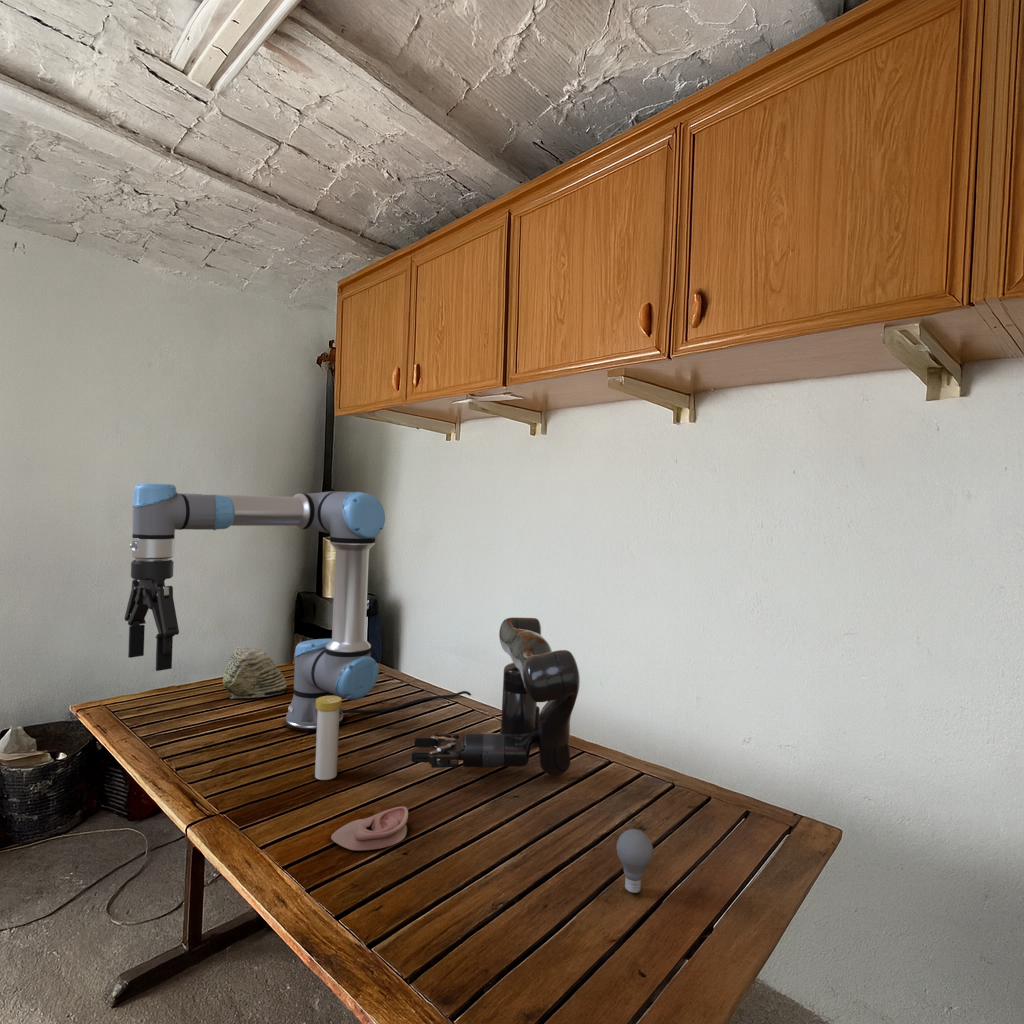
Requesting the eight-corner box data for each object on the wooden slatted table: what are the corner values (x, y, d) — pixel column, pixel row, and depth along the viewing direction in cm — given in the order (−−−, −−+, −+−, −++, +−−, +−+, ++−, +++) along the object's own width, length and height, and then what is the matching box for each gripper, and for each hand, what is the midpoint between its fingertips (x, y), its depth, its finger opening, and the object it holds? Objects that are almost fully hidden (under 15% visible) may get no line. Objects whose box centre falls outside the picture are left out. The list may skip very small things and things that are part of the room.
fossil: (218, 695, 195) (220, 647, 195) (278, 685, 208) (279, 640, 207) (228, 703, 189) (230, 653, 188) (289, 692, 201) (290, 645, 201)
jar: (327, 769, 147) (330, 696, 147) (341, 774, 145) (344, 701, 144) (310, 775, 143) (313, 701, 143) (324, 782, 141) (327, 706, 140)
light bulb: (610, 879, 108) (613, 822, 108) (644, 879, 109) (647, 822, 109) (619, 902, 102) (622, 840, 102) (655, 901, 103) (658, 840, 103)
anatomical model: (323, 824, 115) (352, 795, 126) (322, 845, 115) (351, 815, 126) (392, 835, 112) (415, 805, 123) (391, 857, 112) (414, 825, 123)
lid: (330, 701, 148) (330, 694, 148) (346, 706, 144) (347, 699, 144) (310, 707, 143) (310, 699, 143) (326, 712, 140) (326, 705, 140)
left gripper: (109, 554, 134) (105, 654, 134) (159, 566, 118) (155, 679, 119) (147, 553, 140) (144, 648, 140) (200, 564, 124) (196, 671, 124)
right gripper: (483, 723, 154) (416, 722, 152) (485, 745, 139) (411, 744, 138) (482, 753, 154) (414, 753, 152) (484, 779, 140) (410, 779, 138)
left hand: (149, 662), depth 129 cm, fingers open, 13 cm apart
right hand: (413, 749), depth 145 cm, fingers open, 8 cm apart
